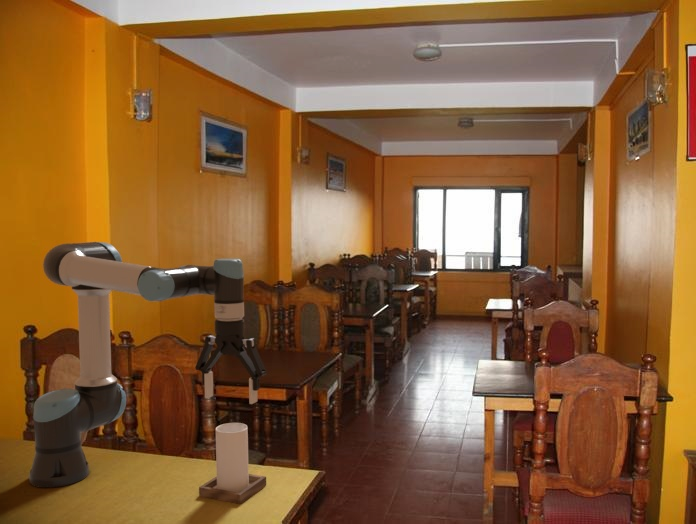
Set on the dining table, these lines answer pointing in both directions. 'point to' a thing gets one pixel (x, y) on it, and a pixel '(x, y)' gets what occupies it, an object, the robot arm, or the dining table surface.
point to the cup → (232, 457)
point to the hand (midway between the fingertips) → (230, 399)
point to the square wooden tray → (224, 495)
